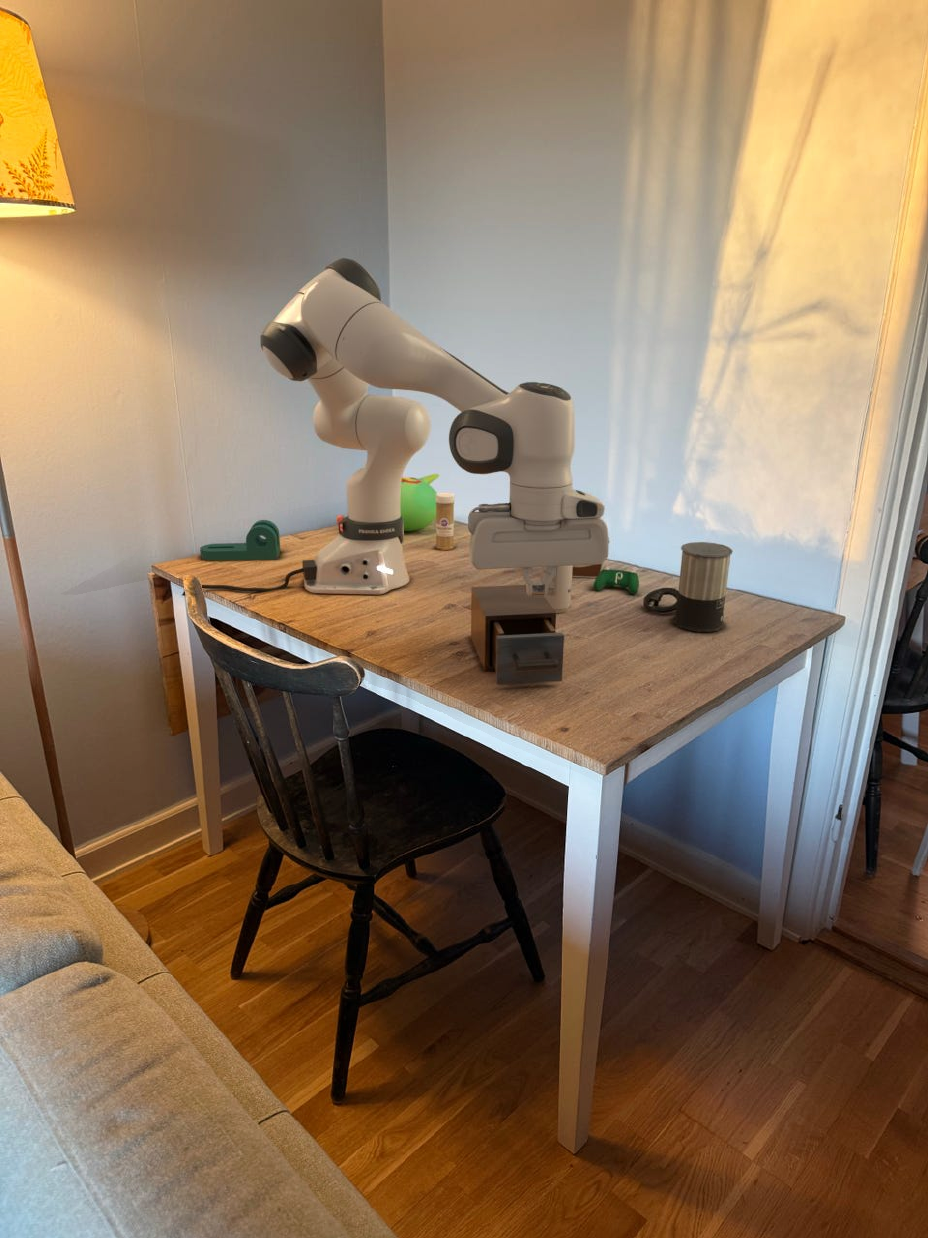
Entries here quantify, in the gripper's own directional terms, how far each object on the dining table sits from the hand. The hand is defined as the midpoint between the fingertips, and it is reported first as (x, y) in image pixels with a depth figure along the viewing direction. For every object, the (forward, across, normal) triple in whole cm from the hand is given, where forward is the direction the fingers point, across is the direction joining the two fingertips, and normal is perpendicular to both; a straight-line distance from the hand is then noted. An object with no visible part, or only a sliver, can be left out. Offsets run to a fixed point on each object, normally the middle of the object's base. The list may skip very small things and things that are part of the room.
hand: (536, 594), depth 122 cm
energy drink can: (+16, +13, +36) cm, 41 cm away
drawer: (+15, 0, +5) cm, 16 cm away
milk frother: (+16, +36, +28) cm, 48 cm away
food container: (+16, +24, +58) cm, 65 cm away
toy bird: (+17, -11, +101) cm, 103 cm away
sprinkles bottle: (+16, -3, +82) cm, 84 cm away
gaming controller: (+16, +29, +46) cm, 56 cm away
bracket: (+16, -52, +81) cm, 98 cm away
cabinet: (+16, 0, +16) cm, 22 cm away
